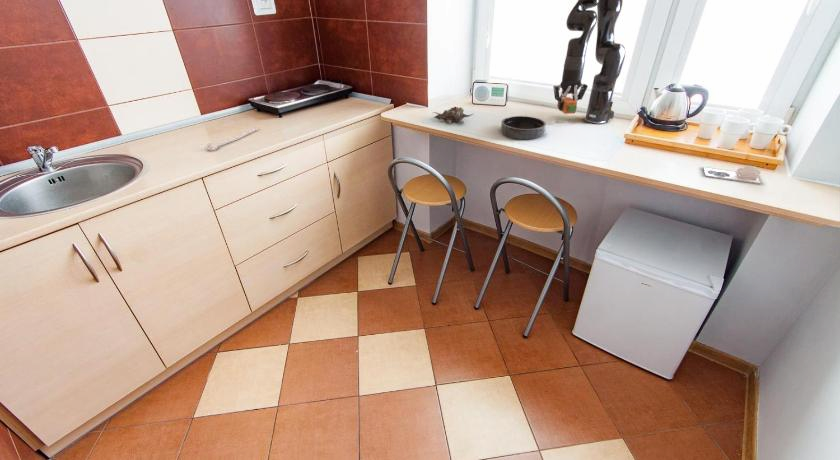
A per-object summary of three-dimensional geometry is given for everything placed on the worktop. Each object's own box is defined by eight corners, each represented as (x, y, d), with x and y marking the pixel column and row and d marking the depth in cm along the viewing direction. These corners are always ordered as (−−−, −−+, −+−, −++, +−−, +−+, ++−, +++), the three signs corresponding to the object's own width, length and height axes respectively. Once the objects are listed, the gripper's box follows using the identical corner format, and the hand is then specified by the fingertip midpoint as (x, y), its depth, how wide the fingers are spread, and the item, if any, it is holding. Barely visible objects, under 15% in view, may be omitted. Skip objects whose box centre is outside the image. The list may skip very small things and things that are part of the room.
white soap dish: (755, 176, 129) (762, 163, 127) (760, 184, 124) (766, 171, 122) (703, 168, 135) (708, 156, 133) (705, 176, 130) (710, 163, 128)
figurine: (430, 113, 178) (433, 104, 192) (431, 126, 181) (433, 116, 196) (474, 111, 176) (473, 101, 190) (474, 124, 179) (473, 113, 193)
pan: (536, 125, 178) (538, 115, 175) (550, 139, 162) (551, 128, 160) (496, 126, 177) (497, 116, 175) (506, 141, 162) (507, 130, 159)
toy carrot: (555, 106, 170) (556, 95, 167) (565, 105, 170) (566, 95, 167) (566, 115, 159) (568, 103, 157) (576, 114, 159) (578, 103, 157)
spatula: (253, 129, 182) (251, 123, 181) (260, 130, 181) (258, 124, 179) (205, 150, 161) (203, 143, 159) (212, 151, 159) (210, 144, 158)
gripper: (559, 70, 151) (553, 113, 160) (595, 68, 152) (586, 111, 161) (552, 66, 157) (546, 108, 167) (587, 64, 158) (579, 106, 167)
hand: (566, 110), depth 164 cm, fingers closed on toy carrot, 4 cm apart
